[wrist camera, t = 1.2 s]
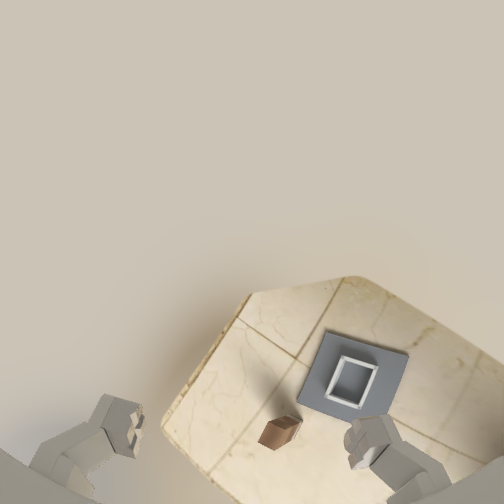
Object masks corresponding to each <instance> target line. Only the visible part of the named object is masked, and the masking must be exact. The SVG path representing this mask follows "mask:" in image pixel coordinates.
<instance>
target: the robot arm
mask: <svg viewBox="0 0 504 504" xmlns="http://www.w3.org/2000/svg"><path fill="white" fill-rule="evenodd" d="M142 411H143V408H142V404H138V403H134V402H131V401H127V400H124V399H120V398H117V397H114V396H111V395H107V394H104V395H103V396H102V397H101V398H100V400H99V402H98V404H97V406H96V408H95V410H94V412H93V414H92V416H91V418H90V420H89V421H88V423H86V422H83V423H81V424H80V425H78V426H76V427H74V428H72V429H70V430H68V431H66V432H64V433H62V434H60V435H58V436H56V437H54V438H51V439H50V440H47V441H45V442H43V443H41V445H40V446H39V448H38V450H37V452H36V454H35V455H34V457H33V459H32V461H31V463H30V465H29V467H27V466H26V465H24V464H22V463H21V462H19V461H18V460H16V459H15V458H14V457H12V456H11V455H9V454H8V453H6V452H5V451H4V450H2V449H1V448H0V504H103V503H100V502H97V501H95V500H92V495H93V493H94V490H95V488H94V486H93V485H92V484H91V483H90V481H89V480H88V479H87V478H86V476H87V475H89V474H90V473H91V472H93V471H94V470H96V469H97V468H98V467H100V466H101V465H102V464H104V463H105V462H106V461H107V460H109V459H110V458H112V457H113V456H114V455H115V453H116V454H120V455H124V456H127V457H131V458H135V459H136V457H137V454H138V451H139V448H140V445H139V441H138V440H139V439H141V438H143V435H144V431H145V417H144V416H143V415H142ZM351 424H352V427H351V428H350V429H348V430H347V432H346V433H345V436H344V446H345V450H346V451H348V452H349V453H350V455H349V457H348V460H349V463H350V467H351V470H355V469H361V468H367V467H370V469H371V470H372V471H373V472H374V473H375V474H376V475H377V476H378V477H379V478H380V479H382V480H383V481H384V482H385V483H386V484H387V485H388V486H389V487H390V488H391V489H393V490H394V491H395V493H394V494H393V495H391V496H390V497H389V498H388V499H387V504H504V456H500V457H498V458H496V459H495V460H493V461H492V462H490V463H489V464H487V465H486V466H484V467H482V468H481V469H479V470H478V471H476V472H474V473H472V474H471V475H469V476H467V477H465V478H464V479H462V480H460V481H458V482H456V483H454V484H452V483H451V481H450V479H449V477H448V475H447V473H446V471H445V469H444V467H443V465H442V464H441V463H440V462H438V461H436V460H435V459H433V458H432V457H430V456H428V455H427V454H425V453H424V452H422V451H420V450H419V449H417V448H416V447H414V446H413V445H411V444H410V443H408V442H406V441H402V439H401V437H400V435H399V432H398V430H397V428H396V426H395V424H394V422H393V420H392V418H391V416H390V415H389V414H385V415H379V416H370V417H362V418H356V419H354V420H353V422H352V423H351Z"/></svg>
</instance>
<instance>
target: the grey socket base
mask: <svg viewBox="0 0 504 504" xmlns="http://www.w3.org/2000/svg"><path fill="white" fill-rule="evenodd" d="M408 358H409V356H407V355H403V354H399V353H396V352H392V351H388V350H385V349H381V348H378V347H375V346H371V345H368V344H364V343H361V342H358V341H354V340H351V339H348V338H345V337H342V336H338V335H335V334H332V333H329V332H326V334H325V336H324V339H323V342H322V344H321V347H320V349H319V352H318V354H317V356H316V359H315V361H314V364H313V366H312V368H311V371H310V373H309V375H308V378H307V380H306V382H305V384H304V387H303V389H302V391H301V393H300V395H299V398H298V400H297V403H299V404H302V405H304V406H307V407H309V408H311V409H314V410H316V411H319V412H322V413H324V414H327V415H329V416H332V417H335V418H337V419H340V420H343V421H346V422H349V423H352V422H353V420H354V419H356V418H362V417H370V416H379V415H385V414H387V412H388V410H389V407H390V405H391V403H392V400H393V398H394V396H395V393H396V391H397V388H398V386H399V383H400V381H401V378H402V375H403V373H404V370H405V367H406V364H407V361H408Z"/></svg>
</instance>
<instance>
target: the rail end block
mask: <svg viewBox="0 0 504 504" xmlns="http://www.w3.org/2000/svg"><path fill="white" fill-rule="evenodd" d="M302 422H303V420H300V419H298V418H296V417H293V416H291V415H286V416H284V417H281V418H278V419H275V420H272V421H269V422H268V423H267V425H266V427H265V429H264V431H263V433H262V435H261V437H260V439H259V441H258V443H260V444H262V445H264V446H266V447H268V448H270V449H272V450H276V449H278V448H280V447H281V446H283V445H285V444H286V443H288V442H289V441H291V440H293V439H294V438H295V436H296V434H297V432H298V430H299V428H300V426H301V424H302Z"/></svg>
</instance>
